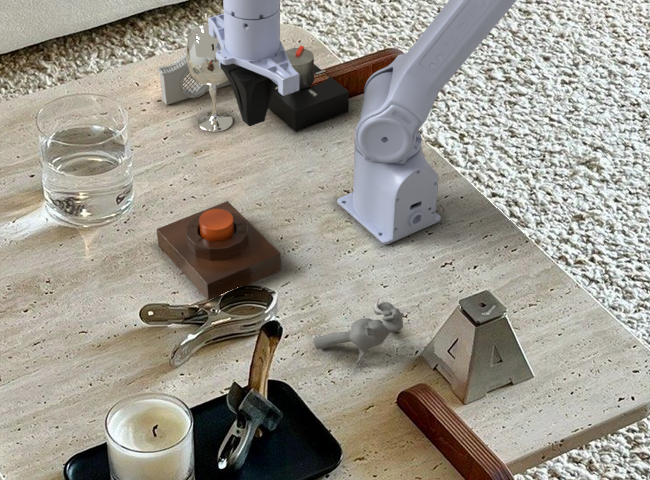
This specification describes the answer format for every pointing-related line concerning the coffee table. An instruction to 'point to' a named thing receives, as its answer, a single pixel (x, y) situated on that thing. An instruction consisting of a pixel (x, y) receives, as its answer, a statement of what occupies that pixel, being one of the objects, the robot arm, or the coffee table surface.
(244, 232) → the button block
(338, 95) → the dial panel
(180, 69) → the lattice window wall
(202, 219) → the button
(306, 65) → the dial
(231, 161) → the coffee table surface
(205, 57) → the wineglass
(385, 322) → the grey bird figurine
